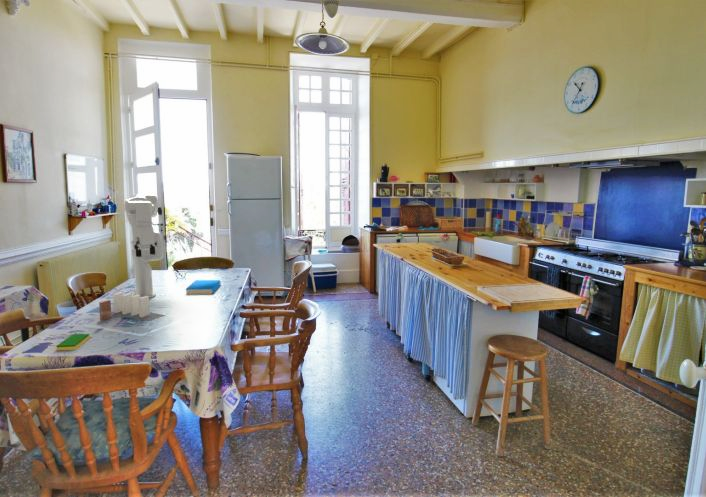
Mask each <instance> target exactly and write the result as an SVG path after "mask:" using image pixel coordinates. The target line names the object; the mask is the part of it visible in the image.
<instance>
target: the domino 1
mask: <svg viewBox="0 0 706 497" xmlns="http://www.w3.org/2000/svg"><path fill="white" fill-rule="evenodd" d="M98 303H99V306H98V307H99V318H100V319H99V320H100V321H103V320H106V319H110V318H113V317H112V316H113V315H111V312H112V307H111V306H112V305H111V303H112V302H111V299H105V300H103V301H99V302H98Z"/></svg>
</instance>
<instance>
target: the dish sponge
mask: <svg viewBox="0 0 706 497" xmlns="http://www.w3.org/2000/svg"><path fill="white" fill-rule="evenodd" d="M89 339H90V333H78V334H77V333H75V334H74V333H73V334H71V335H70V336H68V337H66V338H65V339H64V340H62V341H61V342H60V343H58V344H57V345H56V351H74V350H77V349H78V348H79V347H81V346H82V345H83V344H85V342H87V341H88V340H89Z"/></svg>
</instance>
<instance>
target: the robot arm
mask: <svg viewBox="0 0 706 497" xmlns="http://www.w3.org/2000/svg"><path fill="white" fill-rule="evenodd" d="M158 207H159V199H158V197H157V195H156V194H155V193H135V194H133V195H132V196H131V197H130V198H128V199H127V198H126V199H125V201H124V212H125V215H126V218H127V221H128V222H129V224H130V227H131V231H132V239H133V240H132V241H131V244H132V250H131V257H132V262H133V269H134V270H133V271H134V286H135V287H134V288H133V289H132V290H131V293H134V294H133V295H132V296H135V295H140V298H141V297H144V296H149V299H150V298H153V297H156V295H157V294H156V292H154V289H153V272H152V271H153V270H152V266H151V265H150V264H149V263H148V262H153V261H162V260H163V259H164V255H165V252H164V244H163V239H162V238H163V237H162V234H161V233H160V231H159V230H154V228H153V222H152V221H153V220H152V218H156V216H157V215H158Z"/></svg>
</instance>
